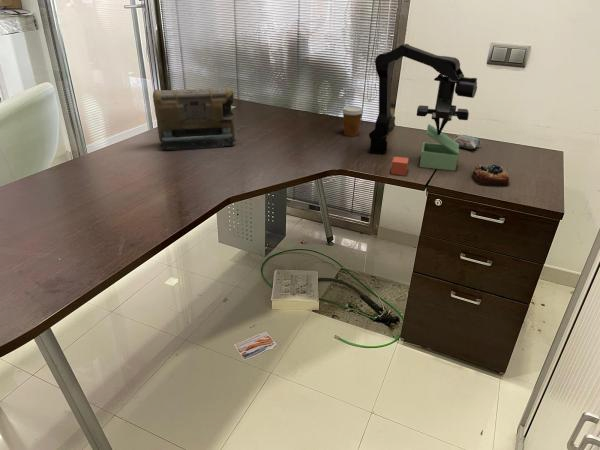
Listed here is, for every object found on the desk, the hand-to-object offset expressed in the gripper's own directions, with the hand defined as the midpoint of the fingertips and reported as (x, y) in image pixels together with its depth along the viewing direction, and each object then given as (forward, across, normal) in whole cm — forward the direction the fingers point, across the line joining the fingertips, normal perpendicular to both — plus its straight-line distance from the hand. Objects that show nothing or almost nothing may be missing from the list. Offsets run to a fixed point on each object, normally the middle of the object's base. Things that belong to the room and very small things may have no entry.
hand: (438, 134), depth 176 cm
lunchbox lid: (+2, +2, 0) cm, 3 cm away
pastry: (+12, +20, -11) cm, 26 cm away
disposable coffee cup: (+12, -38, +26) cm, 48 cm away
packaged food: (+12, +12, +23) cm, 29 cm away
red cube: (+12, -13, -14) cm, 22 cm away
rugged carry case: (+12, -100, -9) cm, 101 cm away
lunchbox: (+12, +1, 0) cm, 12 cm away
